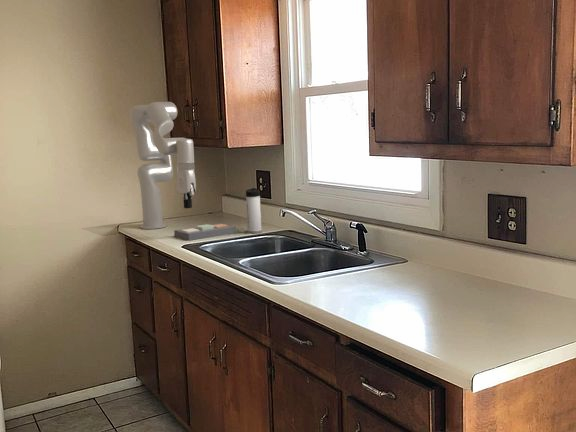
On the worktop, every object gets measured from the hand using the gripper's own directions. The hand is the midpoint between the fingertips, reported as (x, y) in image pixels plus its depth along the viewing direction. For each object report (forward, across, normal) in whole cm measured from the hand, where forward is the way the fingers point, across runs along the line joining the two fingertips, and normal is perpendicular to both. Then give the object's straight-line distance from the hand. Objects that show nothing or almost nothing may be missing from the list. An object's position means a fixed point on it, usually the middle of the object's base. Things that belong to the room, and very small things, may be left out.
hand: (187, 207), depth 291 cm
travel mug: (+13, +13, +27) cm, 32 cm away
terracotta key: (+12, +1, +15) cm, 20 cm away
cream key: (+12, +1, 0) cm, 12 cm away
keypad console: (+13, +1, +8) cm, 15 cm away
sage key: (+11, +1, +8) cm, 14 cm away
